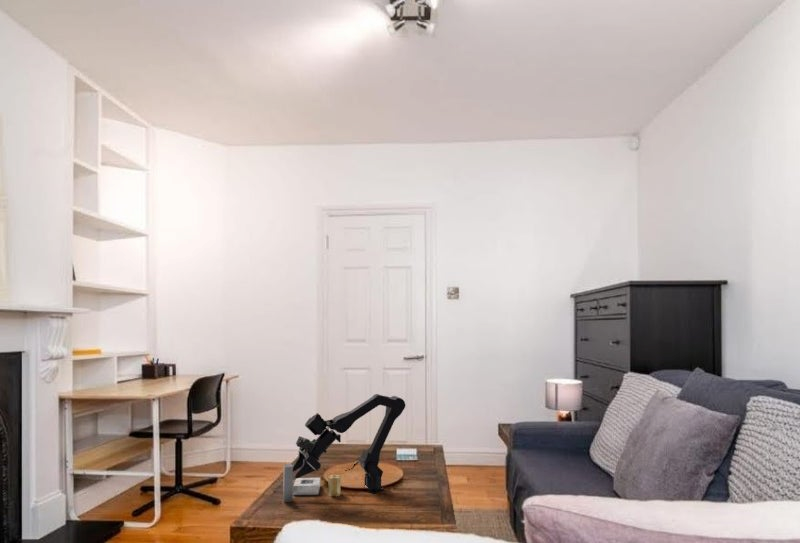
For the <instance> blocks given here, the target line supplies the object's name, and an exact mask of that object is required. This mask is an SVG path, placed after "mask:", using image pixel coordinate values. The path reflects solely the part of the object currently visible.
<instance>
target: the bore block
mask: <svg viewBox="0 0 800 543" xmlns="http://www.w3.org/2000/svg"><path fill="white" fill-rule="evenodd" d="M320 489H321V477H299V478H295V480H294V482H293V496H310V495H311V496H312V495H314V496H315V495H319V493H320Z"/></svg>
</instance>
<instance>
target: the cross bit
mask: <svg viewBox="0 0 800 543" xmlns="http://www.w3.org/2000/svg"><path fill="white" fill-rule="evenodd" d="M327 482H328V487H327V488H328V490H327V493H328V494H327V495H328V497H330V498H331V497H337V496H338V497H340V496H341V475H340V474H336V475H333V474H330V475H328V480H327Z"/></svg>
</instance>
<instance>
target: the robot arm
mask: <svg viewBox="0 0 800 543" xmlns="http://www.w3.org/2000/svg"><path fill="white" fill-rule="evenodd" d="M378 406H382V407H385V414H384V417H383V419H382V421H381V423H380V426H379V427H378V429H377V432H376V434H375V436H374V438H373V440H372V442H371V444H370V446H369V447H368V449H367V450H366V449H365V448H364V449H363V450H362V454H361V455H360V456H359V457H360V461H359V466H360V467H361V468H362V469H363V471H364V486H365V485H366V486H367V487H368V488H369V489H368V490H367V491H366V492H369V493H371V494H376V493H377V492H380V491H382V490H384V488H385V487H382V477H383V473H384V471H383V470H382V469H381V468H380V467H379V462H380V458H381V457H380V456H381V451H382V449H383V447H384V445H385V443H386V441H387V438H388V436H389V434H390V432H391V430H392V428H393V425H394V424H395V421H396V420H397V419H398V418H399V417H400V416H401V414H402V413H403V411H404V410H405V409H406V402H405V400H404V399H403V398H402V397H398V396H396V395H392V396H386V395H380V394H379V393H376V394H373V395H372V396H371V397H370V398H368V399H367V400H365V401H364V402H362V403H360V404H359V405H357V406H356V407H355V408H352V409H351V410H350V411H347V412H344V413H340V414H339V415H336V416H334V417H333V418H331V419H327V420H325V419H324V418H322V416H321V415H320V414H319V413H318V412H317V413H315V414H314V415H312V416H311V417H309V418H308V419H307V421H306V422H305V424H304V427H305V428H307V429H308V430H309V432H311V433H312V434H313V435H314V436H317V435H318V437H317V438H316V439H315V438H313V439H312V440H310V439H308V438H306V437H302V436H298V438H297V440H296V442H295V445H296V446H297V447H298V457H297V458H296V459H297V460H296V461H295V463H294V464H293V473H294V472H296V471H297V470H298V471H297V473H296V474H295V476H294V478H295V479H296V478H303V477H304V476H305V475H308V474H311V473H313V472H316V471H317V472H318V471H319V469H320V468H321V467H322V466H321V465H322V463H321V462H320V458H321V456H322V455H323V454H327V452H328V448H330V447H331V445H332V444H333V443H334V442H335V441H337V442H338V443H341V442H342V441H341V437H342V435H341V434H343V433H346V432H347V431H348V430H349V429H350V428H351V427H352V426H353V424H354V423H355V422H356V421H357V420H358V419H360V418H362V417H363V416H365V415H366V414H368V413H369V412H371V411H372V410H374V409H375V408H377V407H378ZM327 427H328V428H329V429H328V428H327ZM336 432H337V433H336ZM381 487H382V488H381Z"/></svg>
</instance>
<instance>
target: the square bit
mask: <svg viewBox="0 0 800 543" xmlns="http://www.w3.org/2000/svg"><path fill="white" fill-rule="evenodd" d="M293 466H294V464H292V463H291V464H284V465H283V478H282V479H283V481H282V483H283V484H282V485H283V486H282V500H283V503H288V502H293V497H294V495H293V485H294V472H293Z"/></svg>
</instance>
